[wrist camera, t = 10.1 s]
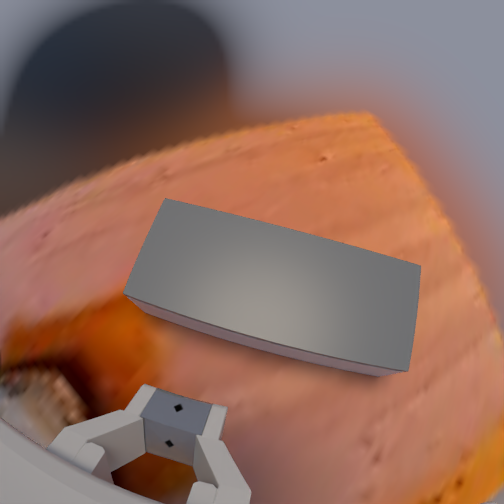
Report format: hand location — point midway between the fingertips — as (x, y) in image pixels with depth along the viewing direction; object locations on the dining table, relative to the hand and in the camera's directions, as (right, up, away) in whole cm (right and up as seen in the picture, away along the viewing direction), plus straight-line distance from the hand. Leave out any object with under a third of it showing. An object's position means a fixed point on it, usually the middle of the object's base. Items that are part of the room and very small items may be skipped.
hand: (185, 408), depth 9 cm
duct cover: (+5, +2, +19) cm, 20 cm away
